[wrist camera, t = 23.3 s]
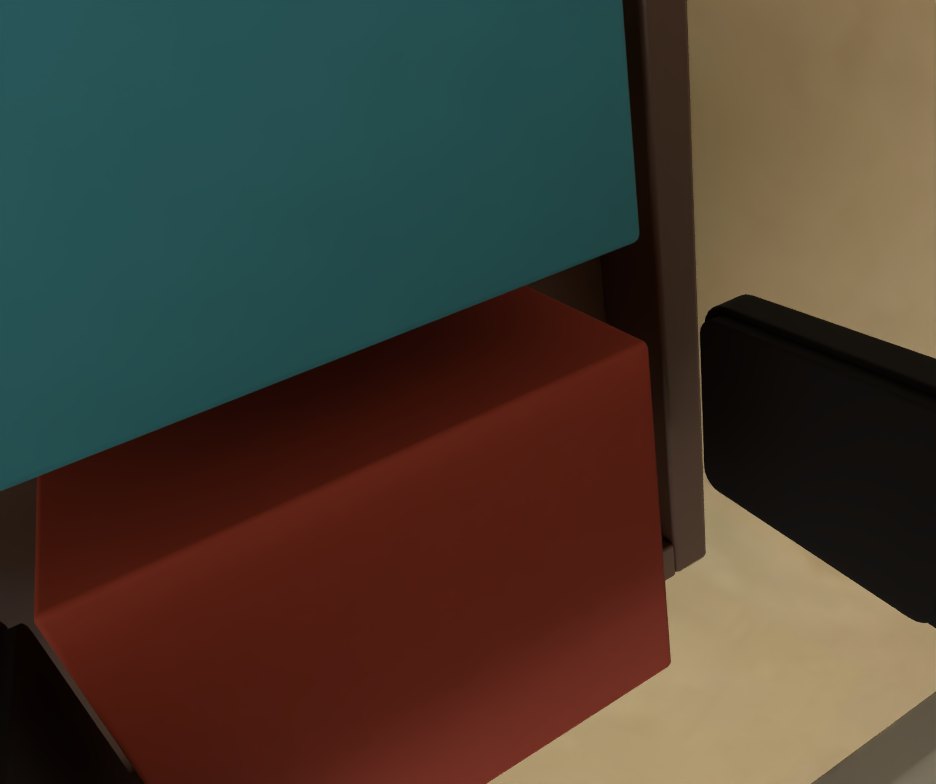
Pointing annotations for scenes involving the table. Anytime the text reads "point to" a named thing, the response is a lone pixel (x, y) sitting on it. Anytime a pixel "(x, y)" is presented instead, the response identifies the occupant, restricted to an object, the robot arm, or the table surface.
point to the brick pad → (371, 560)
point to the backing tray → (581, 287)
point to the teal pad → (280, 191)
